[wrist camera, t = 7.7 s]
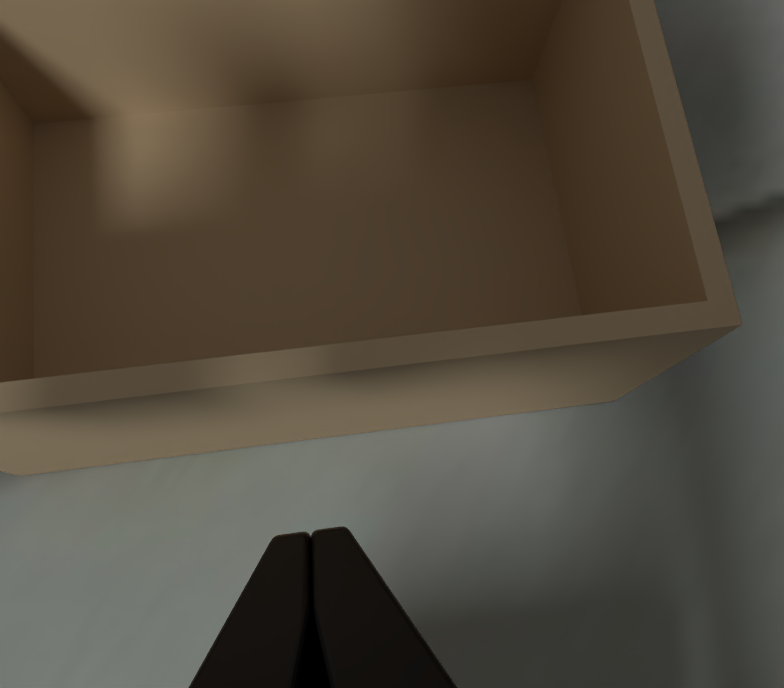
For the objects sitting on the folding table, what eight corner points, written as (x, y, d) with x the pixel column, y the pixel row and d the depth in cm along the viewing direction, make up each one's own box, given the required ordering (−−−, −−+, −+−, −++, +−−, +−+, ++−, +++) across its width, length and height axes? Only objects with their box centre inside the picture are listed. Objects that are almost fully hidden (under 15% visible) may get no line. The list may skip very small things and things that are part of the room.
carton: (613, 401, 23) (742, 324, 15) (20, 476, 22) (-166, 432, 14) (542, 72, 26) (618, -128, 19) (21, 118, 25) (-130, -78, 17)
